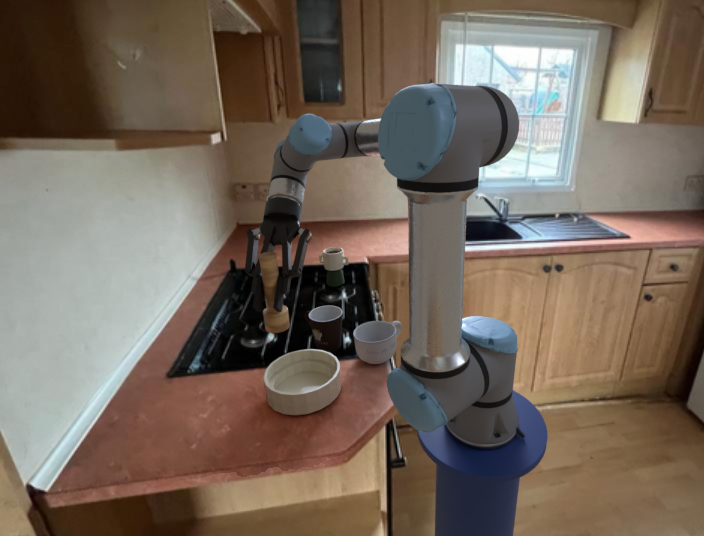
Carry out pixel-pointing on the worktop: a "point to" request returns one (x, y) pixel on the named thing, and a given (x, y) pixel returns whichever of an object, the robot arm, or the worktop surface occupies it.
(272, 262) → the wooden masher
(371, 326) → the teacup
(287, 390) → the mixing bowl
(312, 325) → the coffee mug
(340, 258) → the character mug
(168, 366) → the worktop surface
